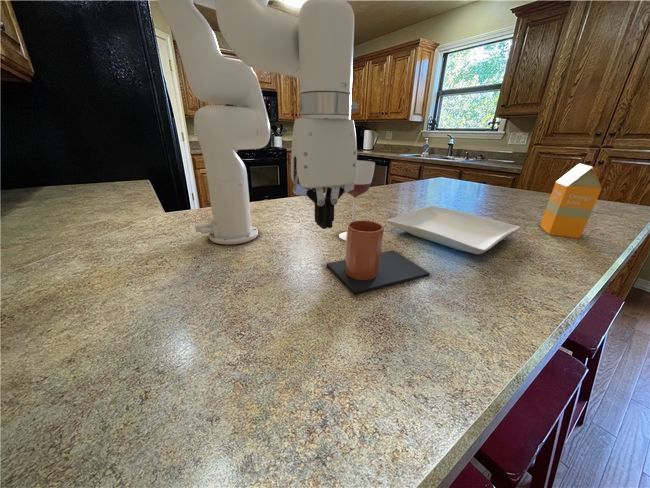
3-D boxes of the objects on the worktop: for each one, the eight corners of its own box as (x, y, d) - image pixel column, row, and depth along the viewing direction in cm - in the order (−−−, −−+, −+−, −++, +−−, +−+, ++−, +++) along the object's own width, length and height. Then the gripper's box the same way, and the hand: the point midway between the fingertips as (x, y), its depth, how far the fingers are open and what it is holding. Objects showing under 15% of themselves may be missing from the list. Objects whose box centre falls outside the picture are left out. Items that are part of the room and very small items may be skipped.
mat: (354, 294, 48) (355, 291, 48) (326, 265, 58) (326, 263, 58) (429, 275, 56) (430, 273, 55) (393, 252, 65) (393, 250, 65)
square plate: (481, 264, 61) (486, 249, 59) (384, 230, 79) (385, 218, 78) (518, 237, 77) (522, 224, 76) (430, 214, 96) (432, 203, 94)
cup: (355, 283, 51) (359, 234, 47) (339, 267, 57) (341, 222, 53) (384, 276, 54) (390, 229, 50) (366, 261, 59) (370, 218, 55)
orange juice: (548, 234, 80) (574, 165, 72) (539, 225, 88) (562, 162, 80) (580, 238, 77) (612, 167, 69) (568, 229, 85) (595, 163, 77)
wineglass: (367, 243, 70) (374, 164, 62) (334, 240, 72) (337, 162, 64) (368, 232, 77) (375, 161, 70) (338, 230, 79) (342, 159, 71)
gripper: (355, 112, 46) (350, 215, 53) (269, 108, 40) (276, 225, 47) (381, 109, 40) (372, 227, 47) (284, 104, 34) (290, 239, 41)
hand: (324, 225), depth 47 cm, fingers closed
